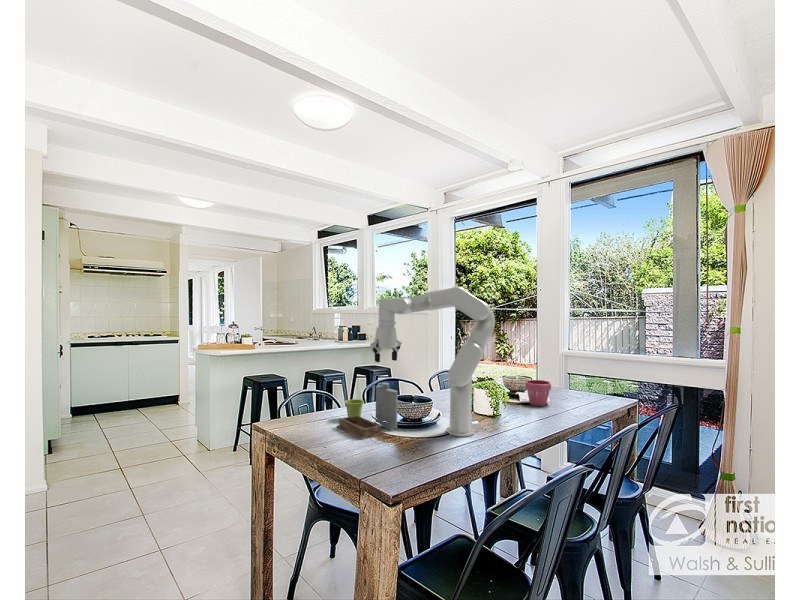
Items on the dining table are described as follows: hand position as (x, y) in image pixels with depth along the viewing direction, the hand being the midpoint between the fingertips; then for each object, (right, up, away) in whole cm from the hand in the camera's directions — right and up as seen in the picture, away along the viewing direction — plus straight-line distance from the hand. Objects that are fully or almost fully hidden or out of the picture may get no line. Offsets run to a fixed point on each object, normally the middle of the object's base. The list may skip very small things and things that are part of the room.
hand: (385, 361), depth 199 cm
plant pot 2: (+86, -32, +47) cm, 103 cm away
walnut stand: (-12, -30, -8) cm, 33 cm away
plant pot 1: (-16, -30, +11) cm, 36 cm away
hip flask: (0, -31, 0) cm, 31 cm away
